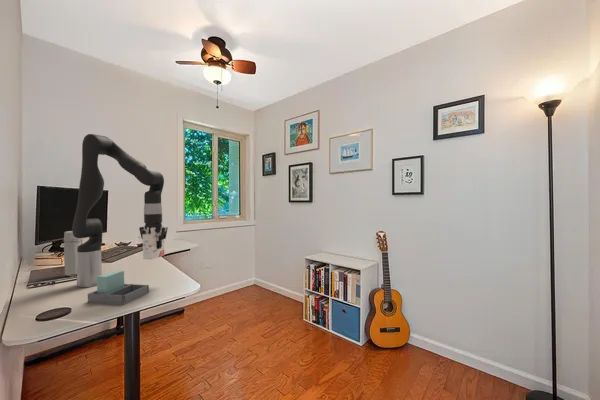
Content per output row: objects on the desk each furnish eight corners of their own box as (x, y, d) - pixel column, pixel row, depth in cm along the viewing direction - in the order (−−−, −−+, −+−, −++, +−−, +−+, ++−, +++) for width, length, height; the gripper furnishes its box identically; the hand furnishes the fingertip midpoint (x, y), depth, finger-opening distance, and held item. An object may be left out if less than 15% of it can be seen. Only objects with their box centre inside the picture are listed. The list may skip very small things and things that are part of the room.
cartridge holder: (87, 303, 106) (87, 293, 106) (116, 291, 119) (116, 283, 119) (123, 306, 103) (123, 296, 103) (148, 293, 115) (148, 285, 115)
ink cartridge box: (156, 255, 128) (155, 225, 127) (164, 255, 127) (164, 225, 126) (142, 259, 119) (141, 227, 119) (151, 259, 118) (151, 228, 118)
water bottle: (67, 278, 140) (65, 232, 140) (62, 276, 144) (61, 231, 144) (87, 274, 148) (86, 230, 147) (82, 272, 152) (81, 230, 152)
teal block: (97, 300, 108) (96, 276, 108) (115, 292, 116) (115, 270, 116) (106, 300, 107) (106, 277, 107) (124, 293, 115) (123, 271, 115)
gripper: (133, 213, 120) (134, 249, 120) (160, 213, 117) (161, 250, 118) (146, 212, 127) (146, 246, 128) (171, 212, 125) (172, 247, 125)
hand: (153, 248), depth 123 cm, fingers closed on ink cartridge box, 5 cm apart
